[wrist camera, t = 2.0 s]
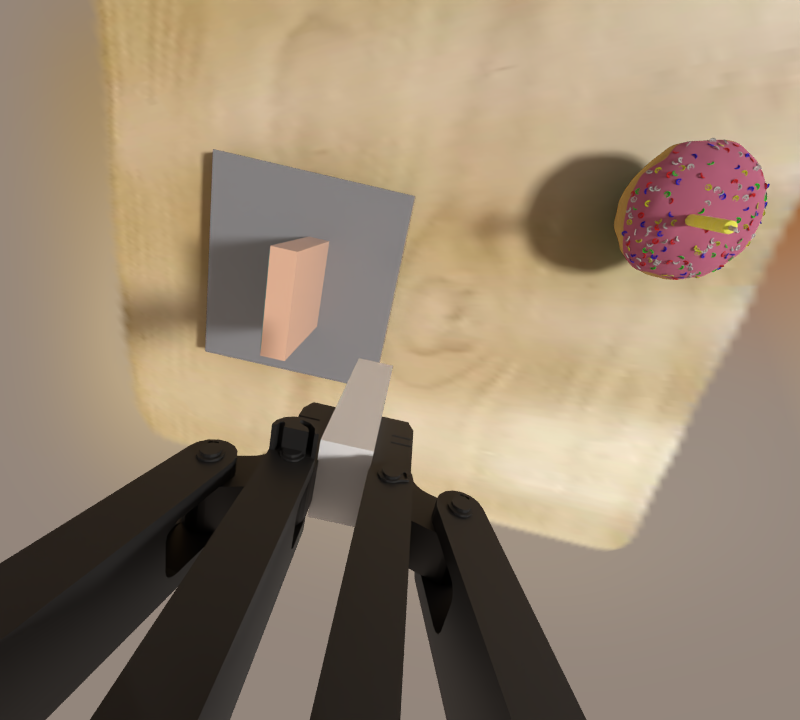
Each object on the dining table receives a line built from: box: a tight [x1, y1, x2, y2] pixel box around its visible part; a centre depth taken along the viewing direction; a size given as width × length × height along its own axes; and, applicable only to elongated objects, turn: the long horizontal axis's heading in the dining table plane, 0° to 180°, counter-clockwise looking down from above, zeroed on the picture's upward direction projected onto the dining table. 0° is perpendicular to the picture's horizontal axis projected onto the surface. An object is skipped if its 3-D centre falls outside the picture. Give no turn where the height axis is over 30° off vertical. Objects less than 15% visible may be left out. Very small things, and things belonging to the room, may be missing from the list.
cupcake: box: [614, 138, 770, 280], centre depth 24 cm, size 9×8×12 cm
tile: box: [260, 237, 329, 361], centre depth 28 cm, size 7×2×8 cm, turn 168°
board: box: [205, 149, 415, 383], centre depth 33 cm, size 16×15×2 cm
